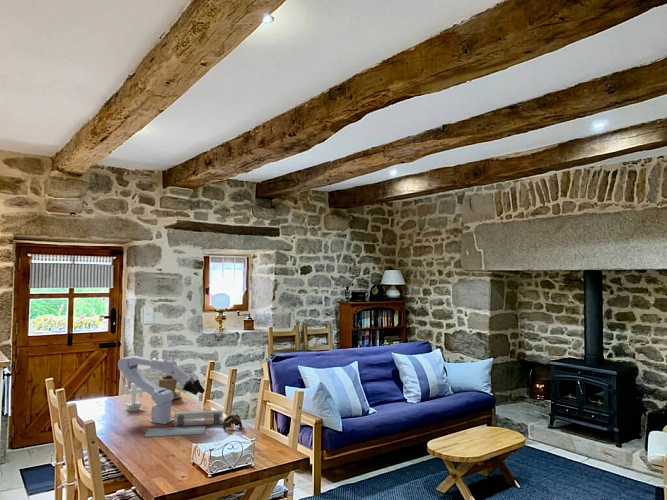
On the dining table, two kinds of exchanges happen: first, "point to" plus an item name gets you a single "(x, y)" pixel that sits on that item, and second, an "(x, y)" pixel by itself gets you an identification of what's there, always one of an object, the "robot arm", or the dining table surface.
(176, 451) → the dining table surface
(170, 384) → the stone cup
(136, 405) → the figurine
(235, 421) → the brown arched figure
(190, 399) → the dining table surface
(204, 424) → the hook standards
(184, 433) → the slate mat
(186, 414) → the steel rail
